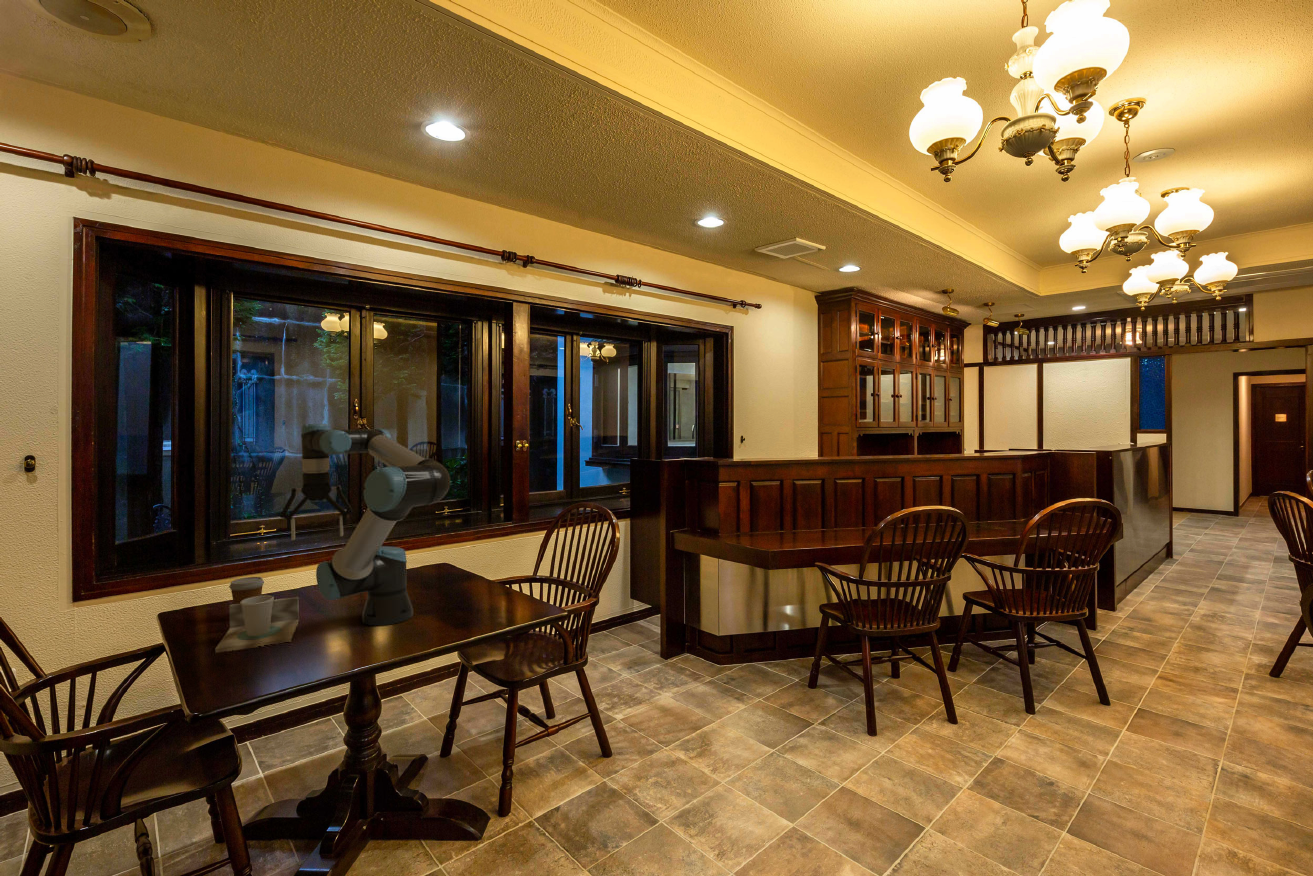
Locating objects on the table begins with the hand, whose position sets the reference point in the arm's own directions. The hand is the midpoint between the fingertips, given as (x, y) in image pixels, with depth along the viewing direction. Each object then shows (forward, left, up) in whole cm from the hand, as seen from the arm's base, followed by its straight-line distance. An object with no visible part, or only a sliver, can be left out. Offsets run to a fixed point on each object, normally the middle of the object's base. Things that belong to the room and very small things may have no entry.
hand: (317, 537), depth 194 cm
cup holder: (+15, +10, -27) cm, 32 cm away
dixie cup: (+15, +10, -26) cm, 31 cm away
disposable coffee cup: (+22, -14, -27) cm, 37 cm away
